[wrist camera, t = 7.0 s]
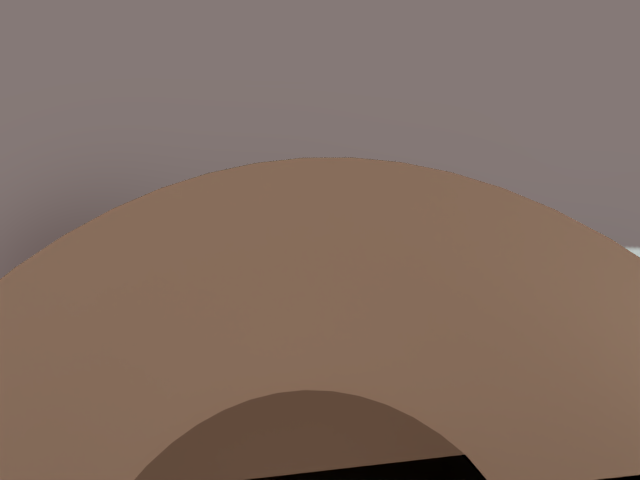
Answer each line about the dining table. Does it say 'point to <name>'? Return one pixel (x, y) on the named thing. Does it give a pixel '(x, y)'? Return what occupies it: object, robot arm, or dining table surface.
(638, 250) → the dining table surface
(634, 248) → the dining table surface
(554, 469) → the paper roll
